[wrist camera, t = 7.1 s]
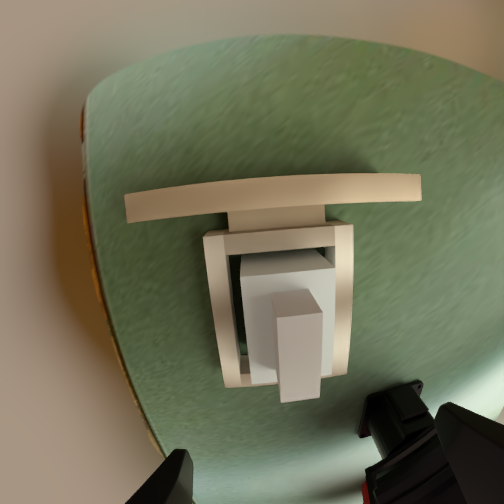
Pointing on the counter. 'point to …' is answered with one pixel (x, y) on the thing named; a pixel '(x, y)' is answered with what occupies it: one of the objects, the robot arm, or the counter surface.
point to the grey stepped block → (289, 319)
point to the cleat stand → (274, 238)
